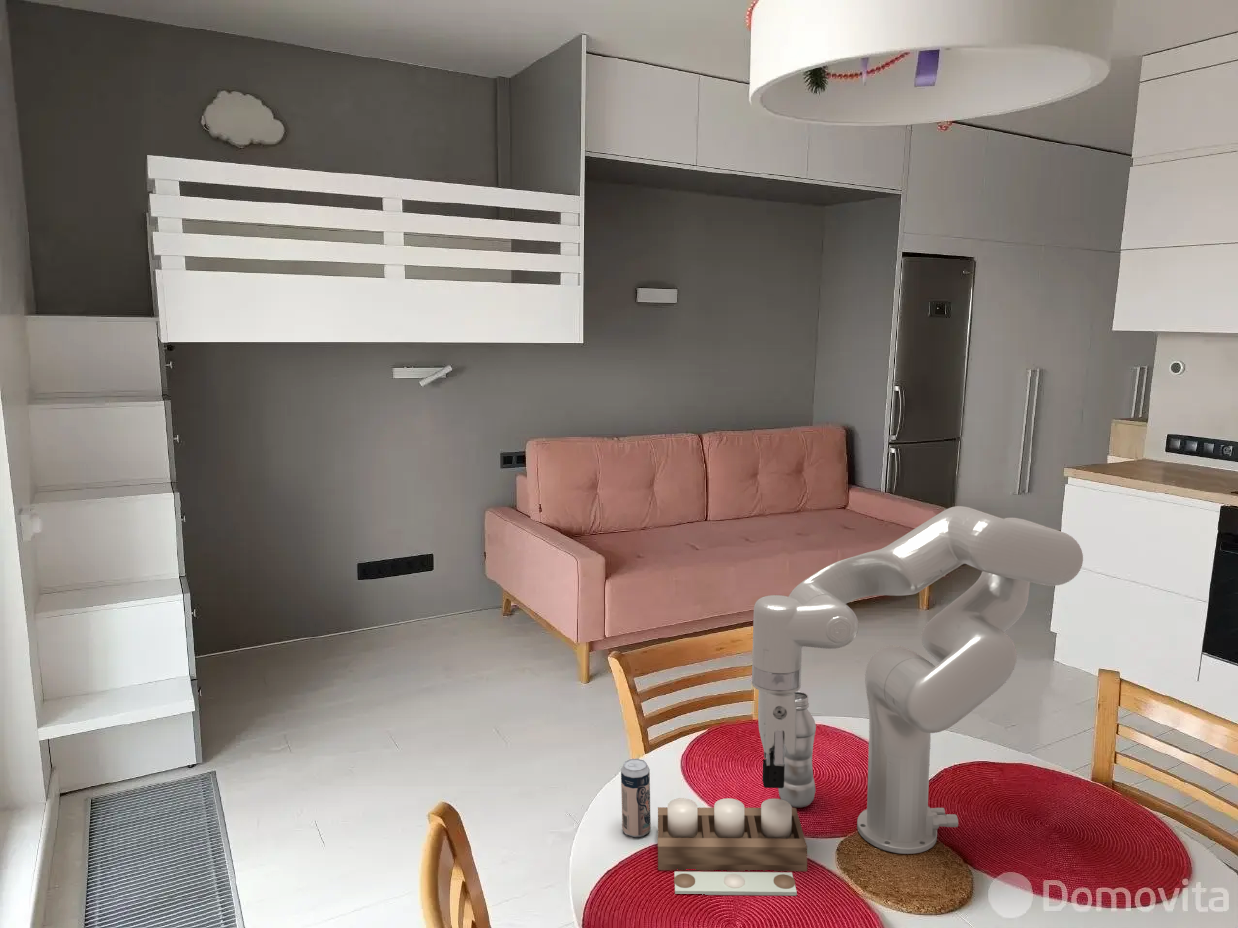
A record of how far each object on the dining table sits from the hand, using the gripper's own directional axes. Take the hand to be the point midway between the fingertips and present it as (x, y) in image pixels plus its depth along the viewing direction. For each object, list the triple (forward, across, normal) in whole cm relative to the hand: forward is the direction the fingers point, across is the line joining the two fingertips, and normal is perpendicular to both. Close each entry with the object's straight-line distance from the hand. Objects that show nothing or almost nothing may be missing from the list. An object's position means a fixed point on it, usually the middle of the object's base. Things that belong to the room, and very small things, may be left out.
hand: (773, 784), depth 136 cm
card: (+12, -9, +7) cm, 16 cm away
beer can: (+12, +5, +22) cm, 25 cm away
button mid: (+8, 0, +7) cm, 11 cm away
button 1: (+8, 0, +14) cm, 17 cm away
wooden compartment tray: (+11, 0, +7) cm, 13 cm away
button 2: (+8, 0, -1) cm, 8 cm away
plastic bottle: (+11, +14, -6) cm, 19 cm away
